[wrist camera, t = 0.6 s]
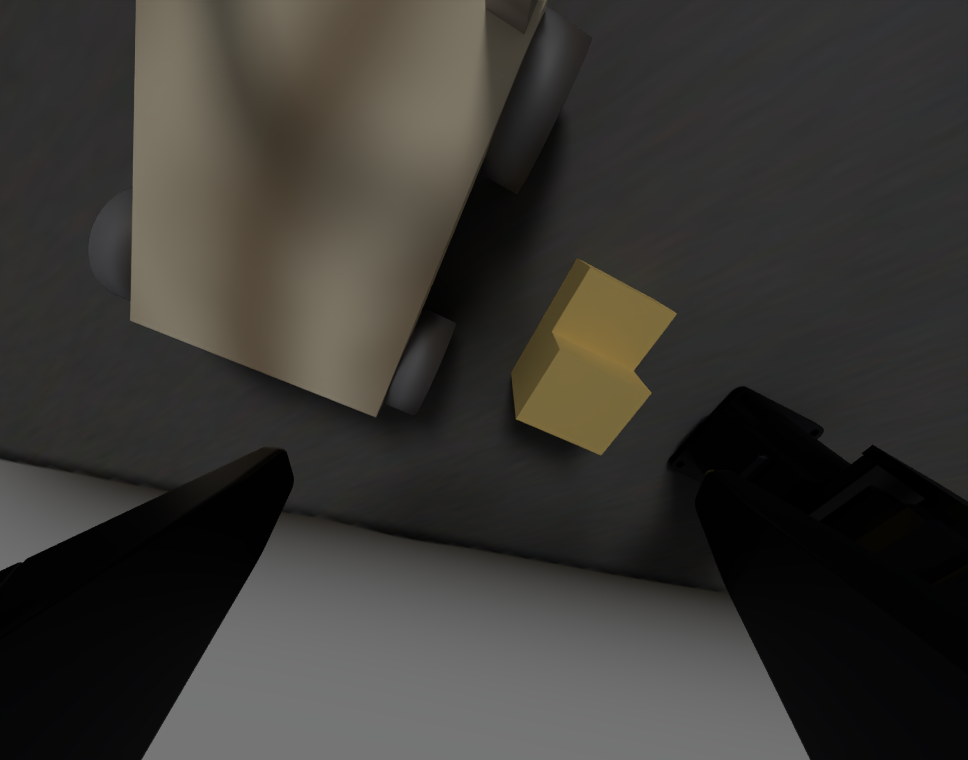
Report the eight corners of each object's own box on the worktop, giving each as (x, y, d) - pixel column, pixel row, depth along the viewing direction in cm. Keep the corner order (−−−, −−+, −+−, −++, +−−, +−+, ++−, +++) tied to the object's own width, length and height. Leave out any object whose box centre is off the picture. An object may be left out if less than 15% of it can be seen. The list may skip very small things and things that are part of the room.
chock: (652, 297, 18) (703, 329, 14) (578, 401, 21) (600, 455, 17) (576, 257, 17) (605, 277, 13) (510, 371, 20) (515, 419, 16)
